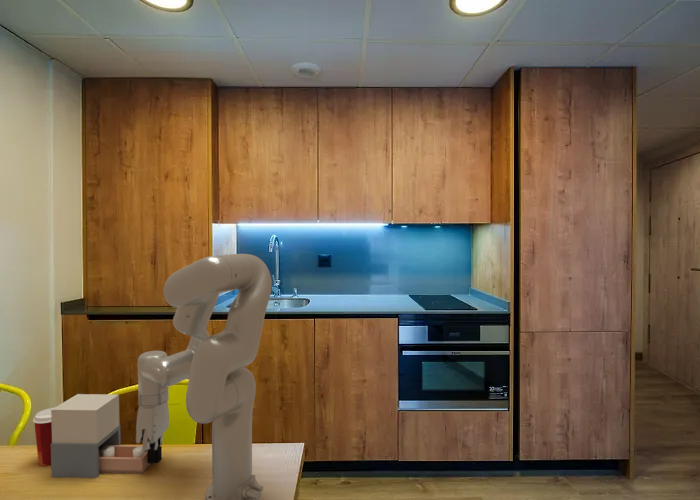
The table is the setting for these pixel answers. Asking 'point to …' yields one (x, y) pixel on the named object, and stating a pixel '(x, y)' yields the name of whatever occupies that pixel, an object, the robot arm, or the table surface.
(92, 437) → the counter unit
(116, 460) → the tray
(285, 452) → the table surface
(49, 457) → the paper cup
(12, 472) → the table surface
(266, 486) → the table surface
